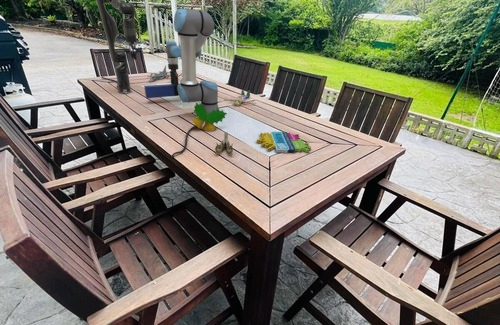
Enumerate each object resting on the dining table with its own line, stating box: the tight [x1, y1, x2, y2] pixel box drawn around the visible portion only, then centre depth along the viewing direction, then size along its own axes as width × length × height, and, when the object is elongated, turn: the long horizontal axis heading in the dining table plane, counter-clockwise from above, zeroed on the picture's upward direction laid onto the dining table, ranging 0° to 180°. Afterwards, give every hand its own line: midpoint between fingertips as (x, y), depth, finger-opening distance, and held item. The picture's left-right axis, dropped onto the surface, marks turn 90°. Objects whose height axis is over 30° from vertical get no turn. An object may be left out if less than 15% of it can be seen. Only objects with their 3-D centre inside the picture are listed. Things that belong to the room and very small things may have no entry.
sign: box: [256, 131, 312, 154], centre depth 152 cm, size 26×2×30 cm
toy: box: [223, 89, 257, 106], centre depth 219 cm, size 28×7×30 cm
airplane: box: [146, 65, 171, 83], centre depth 274 cm, size 38×31×10 cm
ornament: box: [191, 102, 228, 132], centre depth 162 cm, size 21×8×15 cm, turn 105°
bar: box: [143, 83, 179, 99], centre depth 203 cm, size 27×5×8 cm, turn 120°
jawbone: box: [214, 131, 234, 156], centre depth 136 cm, size 9×15×10 cm
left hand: (134, 58), depth 198 cm, fingers open, 8 cm apart
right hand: (175, 94), depth 209 cm, fingers closed on bar, 5 cm apart
